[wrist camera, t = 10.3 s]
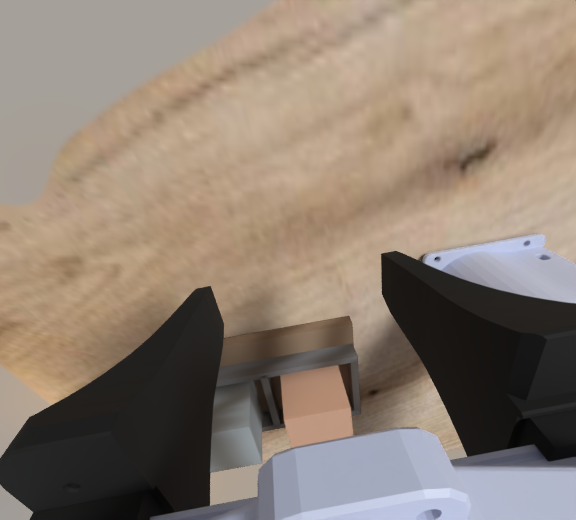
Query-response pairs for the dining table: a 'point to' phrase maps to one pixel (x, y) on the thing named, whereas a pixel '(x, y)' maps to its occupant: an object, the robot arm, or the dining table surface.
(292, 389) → the terracotta block
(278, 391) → the puzzle board
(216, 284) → the dining table surface
